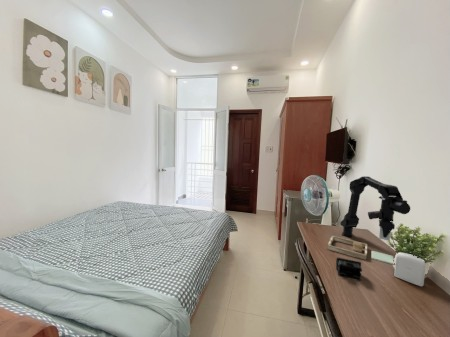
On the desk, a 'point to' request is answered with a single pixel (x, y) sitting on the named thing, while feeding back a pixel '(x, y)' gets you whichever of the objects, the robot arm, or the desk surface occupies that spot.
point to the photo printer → (410, 268)
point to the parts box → (382, 235)
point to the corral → (344, 251)
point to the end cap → (348, 268)
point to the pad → (382, 257)
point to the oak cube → (357, 246)
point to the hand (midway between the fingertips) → (384, 235)
